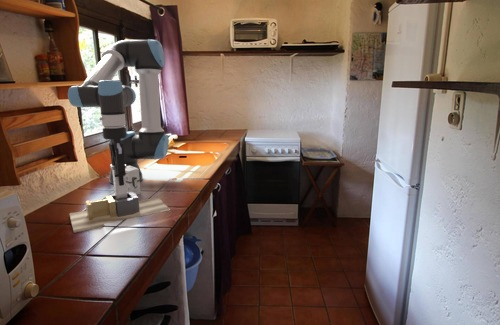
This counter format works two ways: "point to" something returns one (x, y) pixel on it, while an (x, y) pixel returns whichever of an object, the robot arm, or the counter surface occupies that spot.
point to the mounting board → (145, 207)
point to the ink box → (132, 179)
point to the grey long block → (120, 196)
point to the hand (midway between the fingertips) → (120, 191)
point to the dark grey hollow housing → (127, 205)
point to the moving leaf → (101, 207)
